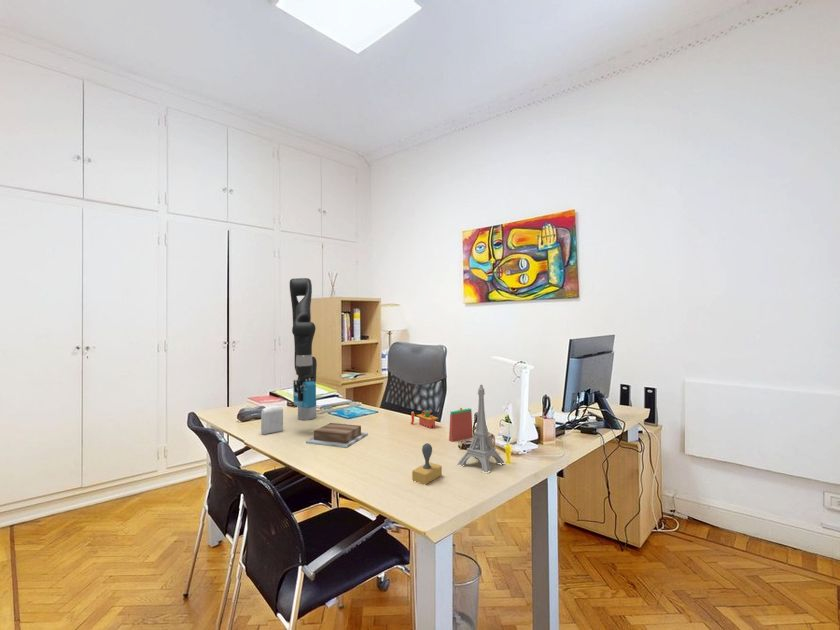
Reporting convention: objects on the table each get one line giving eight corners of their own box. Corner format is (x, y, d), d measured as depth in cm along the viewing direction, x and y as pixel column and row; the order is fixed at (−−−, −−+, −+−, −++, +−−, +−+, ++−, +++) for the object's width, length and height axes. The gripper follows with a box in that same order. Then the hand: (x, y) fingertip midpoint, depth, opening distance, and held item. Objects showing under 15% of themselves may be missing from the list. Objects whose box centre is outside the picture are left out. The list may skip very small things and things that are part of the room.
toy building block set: (451, 442, 183) (451, 410, 183) (407, 424, 212) (407, 396, 212) (472, 437, 190) (472, 406, 190) (427, 421, 219) (427, 394, 219)
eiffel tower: (505, 464, 156) (505, 384, 156) (487, 474, 146) (487, 389, 146) (475, 456, 165) (475, 380, 165) (456, 465, 155) (456, 385, 155)
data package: (293, 405, 199) (293, 380, 199) (301, 403, 203) (301, 378, 202) (308, 409, 191) (307, 383, 191) (316, 407, 195) (316, 381, 195)
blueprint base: (330, 430, 200) (330, 420, 200) (367, 434, 193) (367, 424, 193) (305, 443, 181) (305, 432, 181) (346, 448, 175) (346, 436, 175)
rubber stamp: (428, 472, 148) (428, 438, 148) (442, 475, 145) (442, 441, 145) (411, 481, 140) (411, 445, 140) (425, 485, 137) (425, 449, 137)
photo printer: (280, 429, 203) (280, 403, 203) (284, 430, 200) (284, 405, 200) (259, 433, 196) (259, 407, 196) (263, 435, 193) (263, 408, 193)
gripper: (306, 362, 205) (306, 396, 205) (288, 366, 191) (288, 402, 191) (319, 362, 202) (319, 397, 203) (302, 366, 189) (302, 403, 189)
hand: (304, 399), depth 197 cm, fingers closed on data package, 5 cm apart
